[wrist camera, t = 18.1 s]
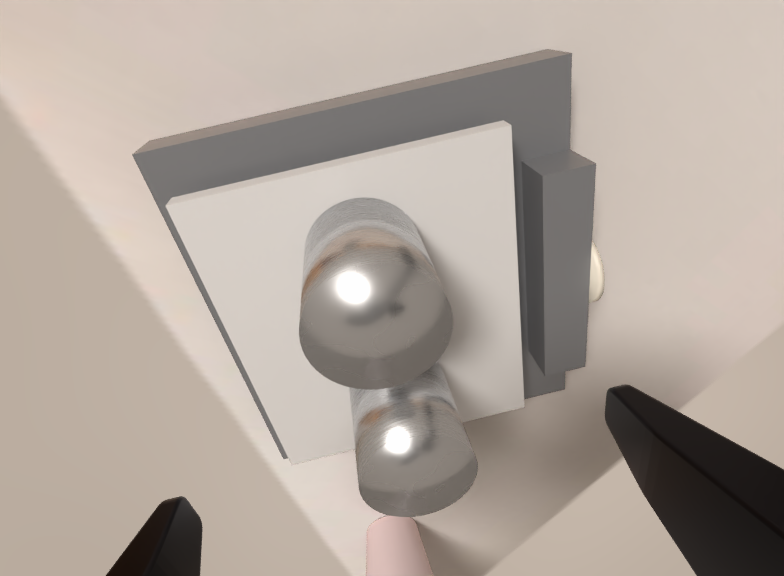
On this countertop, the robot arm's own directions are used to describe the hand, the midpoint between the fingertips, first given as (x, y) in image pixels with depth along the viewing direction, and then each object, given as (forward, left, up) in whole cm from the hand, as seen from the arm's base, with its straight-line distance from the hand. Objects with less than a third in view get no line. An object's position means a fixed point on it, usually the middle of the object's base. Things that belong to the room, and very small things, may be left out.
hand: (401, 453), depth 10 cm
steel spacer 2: (0, +7, -9) cm, 12 cm away
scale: (-1, +3, -13) cm, 14 cm away
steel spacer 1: (0, 0, -9) cm, 9 cm away
